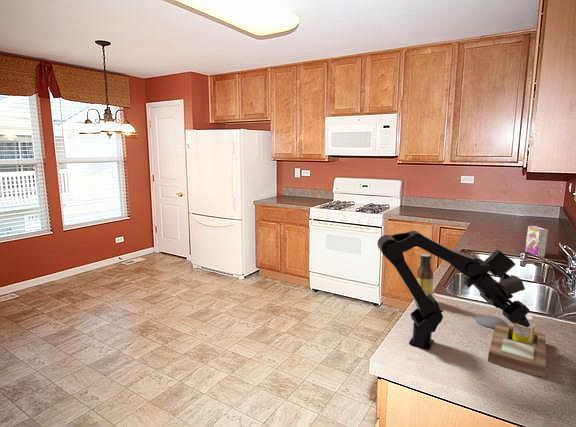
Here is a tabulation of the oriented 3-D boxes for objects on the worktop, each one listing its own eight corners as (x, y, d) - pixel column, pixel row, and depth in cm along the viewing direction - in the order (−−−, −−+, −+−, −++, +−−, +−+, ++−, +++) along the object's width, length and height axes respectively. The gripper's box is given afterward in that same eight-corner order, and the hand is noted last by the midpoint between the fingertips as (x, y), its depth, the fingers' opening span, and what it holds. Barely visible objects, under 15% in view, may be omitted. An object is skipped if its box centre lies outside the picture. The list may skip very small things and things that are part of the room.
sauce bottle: (434, 300, 150) (438, 254, 146) (428, 305, 145) (432, 258, 141) (419, 296, 154) (422, 251, 150) (412, 300, 150) (415, 255, 146)
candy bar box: (524, 252, 219) (527, 225, 216) (532, 252, 219) (535, 225, 215) (536, 257, 208) (540, 230, 205) (545, 257, 208) (548, 230, 204)
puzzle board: (544, 378, 100) (546, 366, 99) (487, 361, 108) (488, 350, 107) (544, 343, 118) (545, 332, 117) (495, 330, 126) (496, 321, 125)
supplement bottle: (523, 340, 119) (527, 311, 117) (536, 349, 114) (540, 319, 112) (507, 341, 119) (511, 312, 117) (519, 350, 113) (523, 320, 111)
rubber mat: (505, 331, 125) (505, 330, 125) (473, 323, 130) (473, 322, 130) (507, 320, 133) (507, 319, 133) (477, 313, 138) (477, 312, 138)
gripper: (526, 280, 103) (561, 316, 104) (492, 259, 121) (522, 290, 123) (495, 305, 104) (529, 341, 106) (466, 281, 123) (496, 312, 124)
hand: (519, 319), depth 115 cm, fingers open, 9 cm apart
